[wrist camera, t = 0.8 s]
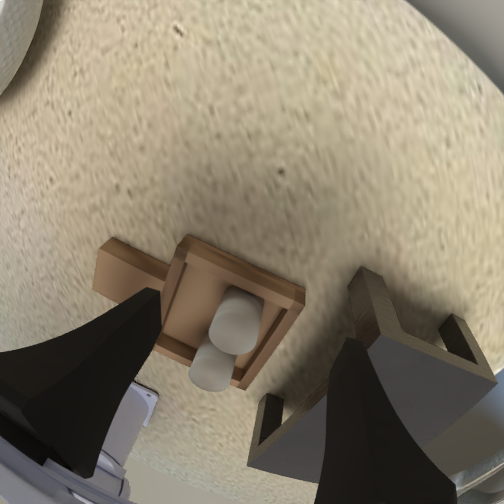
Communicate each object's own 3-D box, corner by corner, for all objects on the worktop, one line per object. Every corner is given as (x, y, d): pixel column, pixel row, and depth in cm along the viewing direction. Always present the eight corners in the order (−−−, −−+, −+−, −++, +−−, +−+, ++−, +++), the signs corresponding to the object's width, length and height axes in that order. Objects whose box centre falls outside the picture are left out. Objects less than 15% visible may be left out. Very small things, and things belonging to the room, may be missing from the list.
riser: (258, 403, 28) (246, 465, 22) (361, 265, 21) (380, 334, 14) (352, 431, 29) (354, 489, 22) (465, 320, 21) (497, 383, 15)
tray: (100, 302, 26) (74, 332, 22) (120, 202, 22) (84, 225, 18) (249, 373, 27) (239, 413, 23) (305, 289, 22) (304, 329, 18)
